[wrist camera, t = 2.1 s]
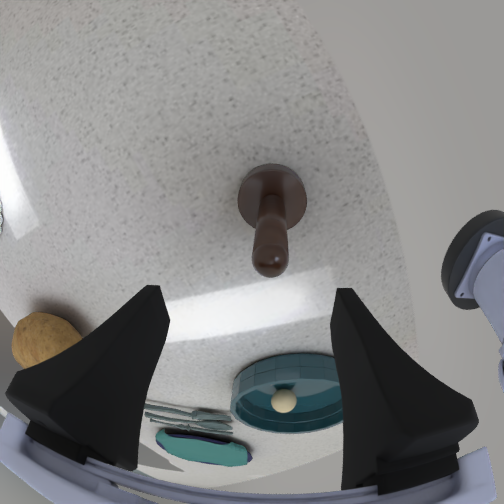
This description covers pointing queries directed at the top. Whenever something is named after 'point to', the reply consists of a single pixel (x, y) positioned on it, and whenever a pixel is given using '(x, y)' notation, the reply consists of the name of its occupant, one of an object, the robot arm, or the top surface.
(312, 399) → the bowl
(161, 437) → the cutlery set
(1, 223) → the mooncake
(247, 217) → the wooden pestle
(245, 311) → the top surface
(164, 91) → the top surface
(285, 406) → the dough ball
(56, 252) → the top surface
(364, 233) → the top surface
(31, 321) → the potato
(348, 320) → the robot arm
